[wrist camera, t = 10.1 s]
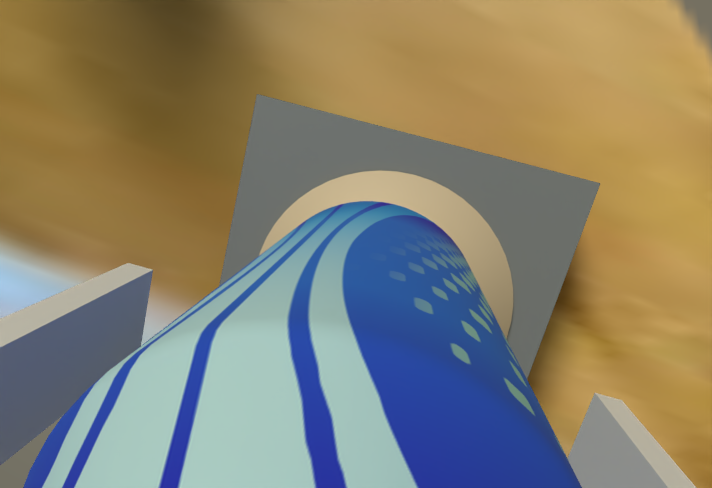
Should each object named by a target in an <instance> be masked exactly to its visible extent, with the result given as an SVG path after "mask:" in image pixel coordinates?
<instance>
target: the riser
mask: <svg viewBox="0 0 712 488" xmlns="http://www.w3.org/2000/svg"><path fill="white" fill-rule="evenodd" d="M599 186H600V183H597V182H593V181H589V180H585V179H581V178H578V177H574V176H570V175H566V174H562V173H558V172H554V171H551V170H547V169H543V168H539V167H535V166H531V165H528V164H524V163H520V162H516V161H512V160H508V159H505V158H501V157H497V156H493V155H489V154H485V153H481V152H478V151H474V150H470V149H466V148H462V147H458V146H455V145H451V144H447V143H443V142H439V141H435V140H431V139H428V138H424V137H420V136H416V135H412V134H408V133H405V132H401V131H397V130H393V129H389V128H385V127H382V126H378V125H374V124H370V123H366V122H362V121H358V120H355V119H351V118H347V117H343V116H339V115H335V114H332V113H328V112H324V111H320V110H316V109H312V108H308V107H305V106H301V105H297V104H293V103H289V102H285V101H282V100H278V99H274V98H270V97H266V96H262V95H259V94H257V97H256V102H255V107H254V112H253V117H252V122H251V127H250V132H249V138H248V143H247V148H246V153H245V158H244V163H243V168H242V173H241V178H240V183H239V188H238V194H237V199H236V204H235V209H234V214H233V219H232V224H231V229H230V234H229V239H228V244H227V250H226V255H225V260H224V265H223V270H222V275H221V280H220V285H222V284H223V283H224V282H226V281H227V280H228V279H229V278H231V277H232V276H233V275H235V274H236V273H237V272H239V271H240V270H241V269H243V268H244V267H245V266H247V265H248V264H249V263H250V262H252V261H253V260H254V259H256V258H257V257H258V256H260V255H261V254H262V253H264V252H265V251H266V250H267V249H269V248H270V247H271V246H273V245H274V244H275V243H277V242H278V241H279V240H281V239H282V238H283V237H284V236H286V235H287V234H288V233H290V232H291V231H292V230H294V229H295V228H296V227H298V226H299V225H300V224H302V223H303V222H304V221H306V220H307V219H309V218H310V217H312V216H314V215H315V214H317V213H319V212H321V211H323V210H326V209H328V208H331V207H334V206H337V205H340V204H345V203H350V202H359V201H376V202H385V203H390V204H395V205H398V206H402V207H405V208H408V209H410V210H413V211H415V212H417V213H419V214H421V215H423V216H425V217H426V218H428V219H429V220H431V221H432V222H434V223H435V224H436V225H438V226H439V227H440V228H441V229H442V230H443V231H444V232H446V233H447V234H448V235H449V236H450V237H451V239H452V240H453V241H454V242H455V244H456V245H457V246H458V248H459V249H460V251H461V252H462V254H463V255H464V257H465V259H466V261H467V263H468V265H469V267H470V269H471V271H472V272H473V274H474V276H475V278H476V280H477V282H478V284H479V286H480V288H481V290H482V292H483V294H484V296H485V298H486V300H487V302H488V304H489V306H490V308H491V310H492V312H493V314H494V316H495V318H496V320H497V322H498V324H499V326H500V327H501V329H502V331H503V333H504V335H505V337H506V339H507V341H508V343H509V345H510V347H511V349H512V351H513V353H514V355H515V357H516V359H517V361H518V363H519V365H520V367H521V369H522V371H523V373H524V375H525V377H526V379H527V378H528V376H529V373H530V370H531V368H532V365H533V362H534V360H535V357H536V354H537V352H538V349H539V346H540V343H541V341H542V338H543V335H544V333H545V330H546V327H547V325H548V322H549V319H550V317H551V314H552V311H553V309H554V306H555V303H556V301H557V298H558V295H559V293H560V290H561V287H562V285H563V282H564V279H565V277H566V274H567V271H568V269H569V266H570V263H571V261H572V258H573V255H574V252H575V250H576V247H577V244H578V242H579V239H580V236H581V234H582V231H583V228H584V226H585V223H586V220H587V218H588V215H589V212H590V210H591V207H592V204H593V202H594V199H595V196H596V194H597V191H598V188H599ZM220 285H219V286H220Z"/></svg>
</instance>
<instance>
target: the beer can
mask: <svg viewBox="0 0 712 488" xmlns="http://www.w3.org/2000/svg"><path fill="white" fill-rule="evenodd" d="M23 488H582V487H581V485H580V483H579V481H578V479H577V477H576V475H575V473H574V471H573V469H572V467H571V465H570V463H569V461H568V459H567V457H566V455H565V453H564V451H563V449H562V447H561V445H560V443H559V441H558V439H557V437H556V436H555V434H554V432H553V430H552V428H551V426H550V424H549V422H548V420H547V418H546V416H545V414H544V412H543V410H542V408H541V406H540V404H539V402H538V400H537V398H536V396H535V394H534V392H533V390H532V388H531V386H530V384H529V382H528V381H527V379H526V377H525V375H524V373H523V371H522V369H521V367H520V365H519V363H518V361H517V359H516V357H515V355H514V353H513V351H512V349H511V347H510V345H509V343H508V341H507V339H506V337H505V335H504V333H503V331H502V329H501V327H500V326H499V324H498V322H497V320H496V318H495V316H494V314H493V312H492V310H491V308H490V306H489V304H488V302H487V300H486V298H485V296H484V294H483V292H482V290H481V288H480V286H479V284H478V282H477V280H476V278H475V276H474V274H473V272H472V271H471V269H470V267H469V265H468V263H467V261H466V259H465V257H464V255H463V254H462V252H461V251H460V249H459V248H458V246H457V245H456V244H455V242H454V241H453V240H452V239H451V237H450V236H449V235H448V234H447V233H446V232H444V231H443V230H442V229H441V228H440V227H439V226H438V225H436V224H435V223H434V222H432V221H431V220H429V219H428V218H426V217H425V216H423V215H421V214H419V213H417V212H415V211H413V210H410V209H408V208H405V207H402V206H398V205H395V204H390V203H385V202H376V201H359V202H350V203H345V204H340V205H337V206H334V207H331V208H328V209H326V210H323V211H321V212H319V213H317V214H315V215H314V216H312V217H310V218H309V219H307V220H306V221H304V222H303V223H302V224H300V225H299V226H298V227H296V228H295V229H294V230H292V231H291V232H290V233H288V234H287V235H286V236H284V237H283V238H282V239H281V240H279V241H278V242H277V243H275V244H274V245H273V246H271V247H270V248H269V249H267V250H266V251H265V252H264V253H262V254H261V255H260V256H258V257H257V258H256V259H254V260H253V261H252V262H250V263H249V264H248V265H247V266H245V267H244V268H243V269H241V270H240V271H239V272H237V273H236V274H235V275H233V276H232V277H231V278H229V279H228V280H227V281H226V282H224V283H223V284H222V285H220V286H219V287H218V288H216V289H215V290H214V291H212V292H211V293H210V294H209V295H207V296H206V297H205V298H203V299H202V300H201V301H199V302H198V303H197V304H195V305H194V306H193V307H192V308H190V309H189V310H188V311H186V312H185V313H184V314H182V315H181V316H180V317H178V318H177V319H176V320H174V321H173V322H172V323H171V324H169V325H168V326H167V327H165V328H164V329H163V330H161V331H160V332H159V333H157V334H156V335H155V336H154V337H152V338H151V339H150V340H148V341H147V342H146V343H144V344H143V345H142V346H140V347H139V348H138V349H136V350H135V351H134V352H133V353H131V354H130V355H129V356H127V357H126V358H125V359H123V360H122V361H121V362H119V363H118V364H117V365H116V366H114V367H113V368H112V369H110V370H109V371H108V372H107V373H105V374H104V375H103V376H102V377H101V378H100V379H99V380H97V381H96V382H95V383H94V384H93V385H92V386H91V387H89V388H88V389H87V390H86V391H85V392H84V393H83V394H82V395H81V396H80V398H79V399H78V400H77V401H76V402H75V403H74V404H73V405H72V406H71V407H70V409H69V410H68V411H67V412H66V413H65V414H64V415H63V416H62V418H61V419H60V421H59V422H58V423H57V425H56V426H55V428H54V429H53V431H52V432H51V433H50V435H49V436H48V438H47V440H46V442H45V443H44V445H43V447H42V449H41V451H40V453H39V454H38V456H37V458H36V460H35V462H34V464H33V466H32V468H31V470H30V472H29V474H28V477H27V479H26V482H25V485H24V487H23Z"/></svg>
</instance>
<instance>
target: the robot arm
mask: <svg viewBox="0 0 712 488" xmlns="http://www.w3.org/2000/svg"><path fill="white" fill-rule="evenodd" d="M152 272H153V270H152V269H148V268H144V267H141V266H137V265H134V264H130V263H127V264H125V265H122V266H120V267H118V268H115V269H113V270H111V271H109V272H106V273H104V274H102V275H99V276H97V277H95V278H93V279H90V280H88V281H86V282H83V283H81V284H79V285H77V286H74V287H72V288H70V289H67V290H65V291H63V292H61V293H58V294H56V295H54V296H51V297H49V298H47V299H45V300H42V301H40V302H38V303H35V304H33V305H31V306H29V307H26V308H24V309H22V310H19V311H17V312H15V313H13V314H10V315H8V316H6V317H3V318H1V319H0V465H1V464H3V463H4V462H5V461H6V460H8V459H9V458H10V457H11V456H13V455H14V454H15V453H16V452H18V451H19V450H20V449H21V448H23V447H24V446H25V445H26V444H27V443H29V442H30V441H31V440H32V439H34V438H35V437H36V436H37V435H38V434H40V433H41V432H42V431H44V430H45V429H46V428H47V427H49V426H50V425H51V424H53V423H54V422H55V421H56V420H57V419H59V418H60V417H61V416H62V415H64V414H65V413H66V412H67V411H68V410H69V409H70V407H71V406H72V405H73V404H74V403H75V402H76V401H77V400H78V399H79V398H80V396H81V395H82V394H83V393H84V392H85V391H86V390H87V389H88V388H89V387H91V386H92V385H93V384H94V383H95V382H96V381H97V380H99V379H100V378H101V377H102V376H103V375H104V374H105V373H107V372H108V371H109V370H110V369H112V368H113V367H114V366H116V365H117V364H118V363H119V362H121V361H122V360H123V359H125V358H126V357H127V356H129V355H130V354H131V353H133V352H134V351H135V350H136V349H138V348H139V347H140V346H141V341H142V335H143V328H144V322H145V316H146V310H147V303H148V297H149V291H150V285H151V278H152ZM568 461H569V463H570V465H571V467H572V469H573V471H574V473H575V475H576V477H577V479H578V481H579V483H580V485H581V487H582V488H696V487H695V486H694V484H693V483H692V482H691V481H690V480H689V479H688V477H687V476H686V475H685V474H684V473H683V472H682V470H681V469H680V468H679V467H678V466H677V465H676V463H675V462H674V461H673V460H672V459H671V457H670V456H669V455H668V454H667V453H666V452H665V450H664V449H663V448H662V447H661V446H660V445H659V443H658V442H657V441H656V440H655V439H654V438H653V436H652V435H651V434H650V433H649V432H648V431H647V429H646V428H645V427H644V426H643V425H642V423H641V422H640V421H639V420H638V419H637V418H636V416H635V415H634V414H633V413H632V412H631V411H630V409H629V408H628V407H627V406H626V405H625V404H624V402H623V401H622V400H619V399H615V398H612V397H608V396H605V395H601V394H597V393H595V394H594V396H593V399H592V401H591V403H590V406H589V408H588V411H587V413H586V415H585V418H584V420H583V423H582V425H581V427H580V430H579V432H578V435H577V437H576V440H575V442H574V444H573V447H572V449H571V452H570V454H569V456H568Z"/></svg>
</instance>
